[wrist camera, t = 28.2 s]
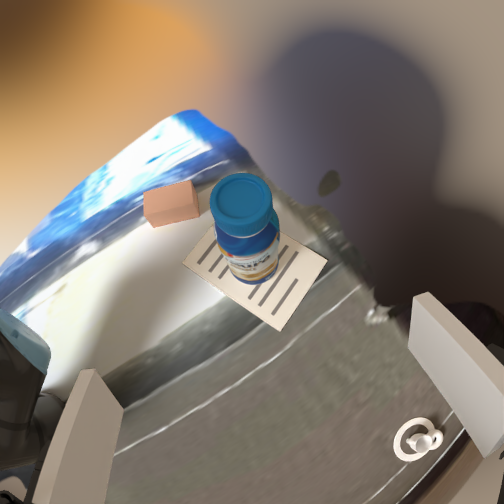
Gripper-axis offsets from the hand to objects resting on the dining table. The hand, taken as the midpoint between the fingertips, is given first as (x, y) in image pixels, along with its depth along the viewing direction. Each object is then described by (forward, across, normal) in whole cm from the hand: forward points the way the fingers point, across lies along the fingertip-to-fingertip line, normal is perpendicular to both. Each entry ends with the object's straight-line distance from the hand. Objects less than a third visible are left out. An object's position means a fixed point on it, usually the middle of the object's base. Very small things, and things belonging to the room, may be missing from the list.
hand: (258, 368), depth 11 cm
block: (+45, -6, -2) cm, 46 cm away
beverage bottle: (+37, +1, -13) cm, 40 cm away
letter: (+38, +1, -13) cm, 40 cm away
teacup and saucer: (+10, +20, -42) cm, 47 cm away
